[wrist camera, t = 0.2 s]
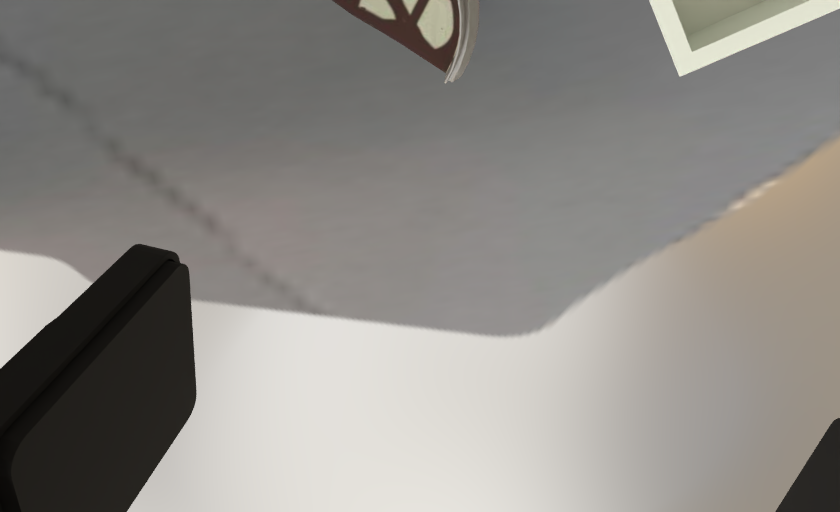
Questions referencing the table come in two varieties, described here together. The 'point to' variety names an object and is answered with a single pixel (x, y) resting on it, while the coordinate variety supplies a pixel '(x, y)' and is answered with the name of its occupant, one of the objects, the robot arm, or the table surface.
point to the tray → (728, 25)
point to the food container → (425, 28)
